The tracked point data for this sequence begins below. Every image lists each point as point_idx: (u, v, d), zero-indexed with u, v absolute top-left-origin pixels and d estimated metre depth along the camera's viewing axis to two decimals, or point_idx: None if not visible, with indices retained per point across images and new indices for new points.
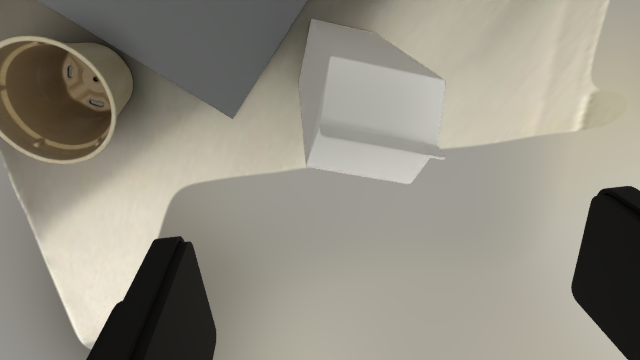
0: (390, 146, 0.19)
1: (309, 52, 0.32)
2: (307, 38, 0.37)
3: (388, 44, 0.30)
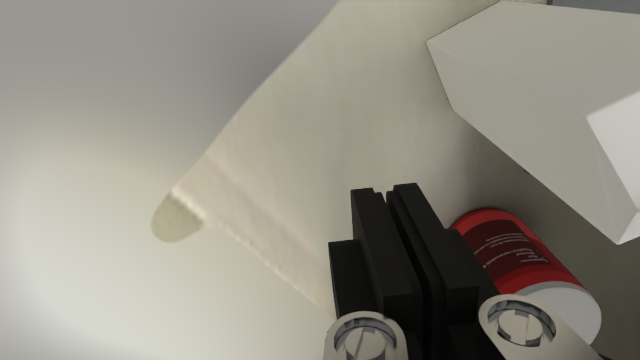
0: None
1: None
2: None
3: None
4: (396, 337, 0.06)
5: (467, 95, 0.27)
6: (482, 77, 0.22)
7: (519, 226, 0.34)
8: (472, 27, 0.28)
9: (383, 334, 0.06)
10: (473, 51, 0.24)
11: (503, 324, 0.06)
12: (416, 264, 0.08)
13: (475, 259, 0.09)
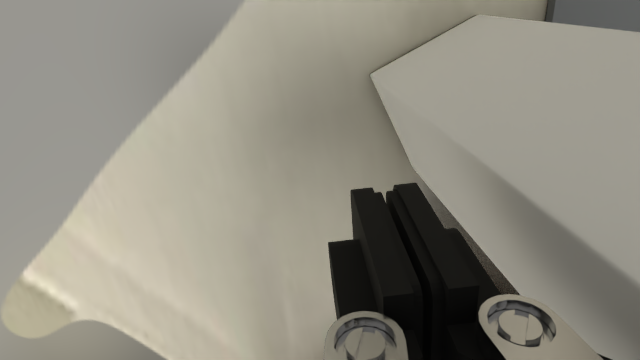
0: None
1: None
2: None
3: None
4: (396, 337, 0.06)
5: (433, 166, 0.17)
6: (458, 157, 0.12)
7: None
8: (436, 55, 0.18)
9: (383, 334, 0.06)
10: (440, 102, 0.14)
11: (503, 324, 0.06)
12: (416, 264, 0.08)
13: (475, 259, 0.09)
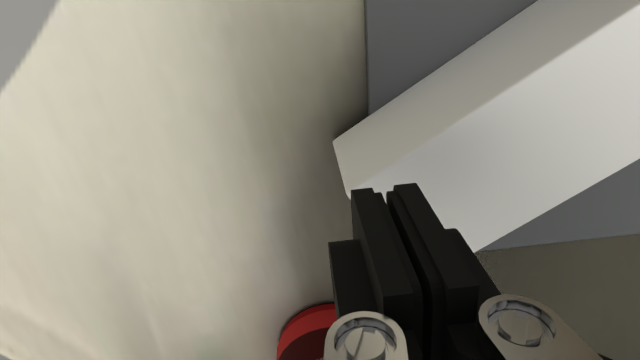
0: None
1: (444, 82, 0.19)
2: (344, 146, 0.20)
3: None
4: (396, 337, 0.06)
5: None
6: None
7: None
8: (444, 215, 0.17)
9: (383, 334, 0.06)
10: (564, 186, 0.17)
11: (503, 324, 0.06)
12: (416, 264, 0.08)
13: (475, 259, 0.09)
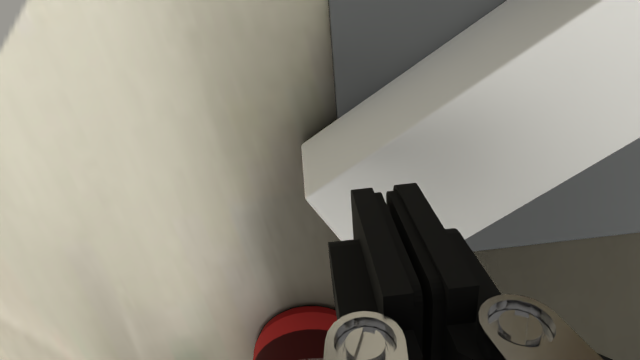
0: None
1: (407, 86, 0.19)
2: (310, 150, 0.20)
3: None
4: (396, 337, 0.06)
5: None
6: None
7: None
8: None
9: (383, 334, 0.06)
10: (523, 189, 0.17)
11: (503, 324, 0.06)
12: (416, 264, 0.08)
13: (475, 259, 0.09)
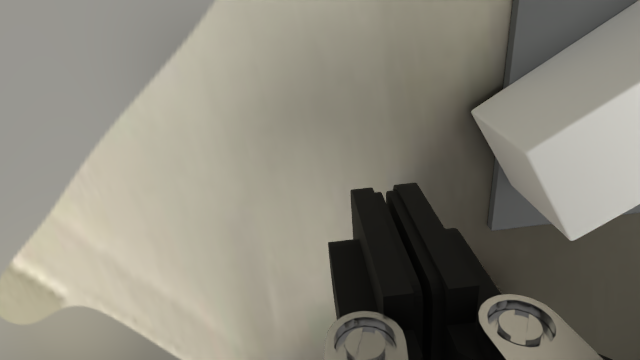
0: None
1: (596, 50, 0.20)
2: (492, 113, 0.21)
3: None
4: (396, 337, 0.06)
5: None
6: None
7: None
8: (610, 173, 0.18)
9: (383, 334, 0.06)
10: None
11: (503, 324, 0.06)
12: (416, 264, 0.08)
13: (475, 259, 0.09)
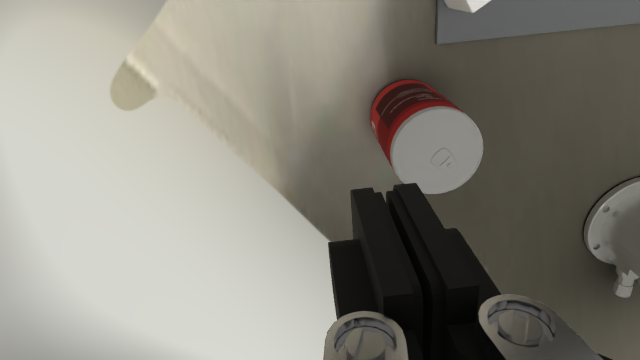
0: None
1: None
2: None
3: None
4: (396, 337, 0.06)
5: None
6: None
7: (428, 87, 0.40)
8: None
9: (383, 334, 0.06)
10: None
11: (503, 324, 0.06)
12: (416, 264, 0.08)
13: (475, 259, 0.09)
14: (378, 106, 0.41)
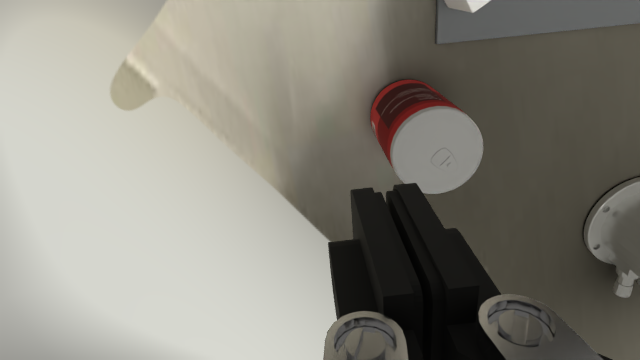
0: None
1: None
2: None
3: None
4: (396, 337, 0.06)
5: None
6: None
7: (428, 87, 0.40)
8: None
9: (383, 334, 0.06)
10: None
11: (503, 324, 0.06)
12: (416, 264, 0.08)
13: (475, 259, 0.09)
14: (378, 106, 0.41)
